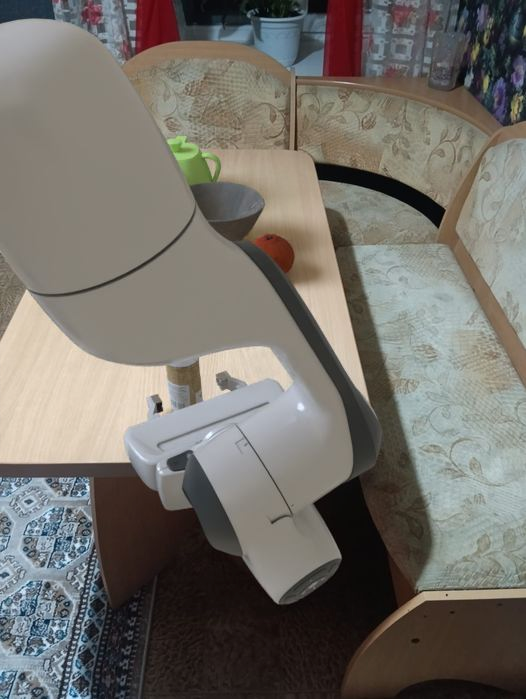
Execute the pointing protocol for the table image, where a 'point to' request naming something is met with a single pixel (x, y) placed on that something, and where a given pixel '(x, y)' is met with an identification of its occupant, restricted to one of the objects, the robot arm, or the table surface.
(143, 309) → the robot arm
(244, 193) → the bowl
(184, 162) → the teapot
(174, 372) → the sprinkles bottle
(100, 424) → the table surface
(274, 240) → the fruit
